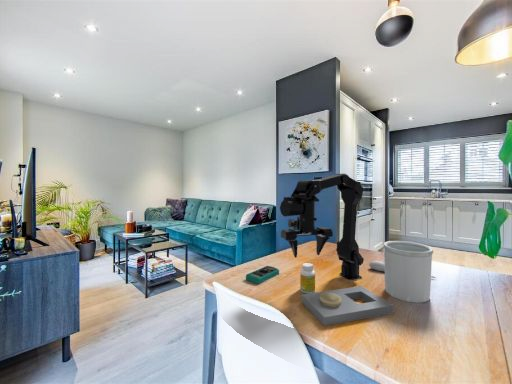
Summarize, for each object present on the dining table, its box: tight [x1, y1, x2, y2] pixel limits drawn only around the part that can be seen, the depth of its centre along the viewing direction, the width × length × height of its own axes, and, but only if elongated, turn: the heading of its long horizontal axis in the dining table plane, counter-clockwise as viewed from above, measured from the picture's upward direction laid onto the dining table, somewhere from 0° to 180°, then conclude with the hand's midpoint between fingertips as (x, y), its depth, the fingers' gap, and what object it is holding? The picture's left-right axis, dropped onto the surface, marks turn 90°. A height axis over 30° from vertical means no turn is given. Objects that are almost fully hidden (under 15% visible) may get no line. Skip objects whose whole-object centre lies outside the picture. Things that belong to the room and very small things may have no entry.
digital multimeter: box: [245, 265, 280, 285], centre depth 102 cm, size 7×15×3 cm, turn 139°
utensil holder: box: [383, 240, 434, 304], centre depth 86 cm, size 15×15×18 cm
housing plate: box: [301, 285, 394, 327], centre depth 77 cm, size 24×14×4 cm, turn 106°
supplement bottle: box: [299, 262, 316, 294], centre depth 89 cm, size 5×5×10 cm
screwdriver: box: [368, 260, 437, 279], centre depth 105 cm, size 5×25×4 cm, turn 59°
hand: (306, 256), depth 89 cm, fingers open, 9 cm apart
